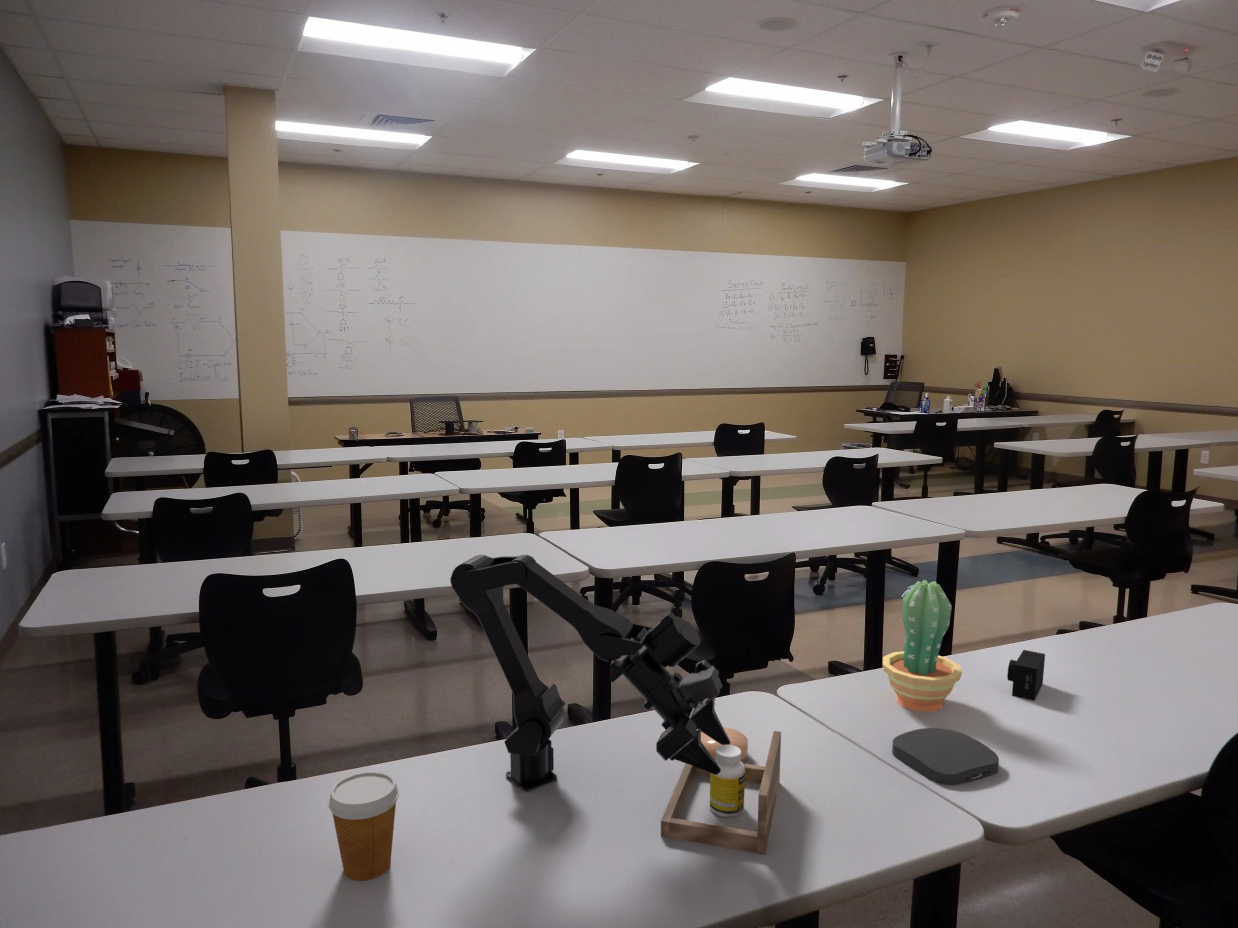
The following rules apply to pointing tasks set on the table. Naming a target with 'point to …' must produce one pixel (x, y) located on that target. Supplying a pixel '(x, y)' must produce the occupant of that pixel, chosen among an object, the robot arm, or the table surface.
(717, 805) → the supplement bottle
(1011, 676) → the digital camera
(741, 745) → the terracotta stand
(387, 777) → the disposable coffee cup
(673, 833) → the brown wooden frame
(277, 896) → the table surface
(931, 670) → the potted cactus
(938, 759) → the media streaming box
